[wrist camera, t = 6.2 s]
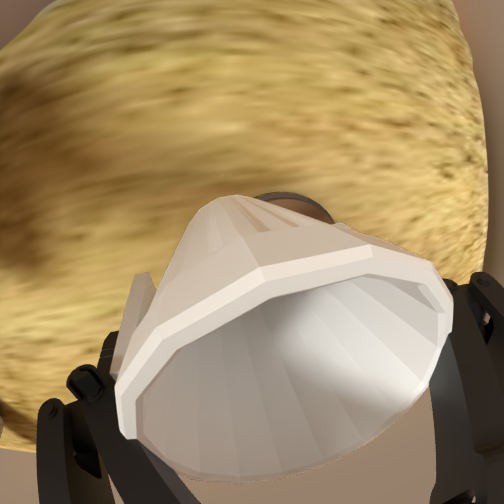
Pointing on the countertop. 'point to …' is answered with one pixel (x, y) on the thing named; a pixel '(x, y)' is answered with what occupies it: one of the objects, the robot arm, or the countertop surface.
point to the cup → (278, 344)
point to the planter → (1, 425)
